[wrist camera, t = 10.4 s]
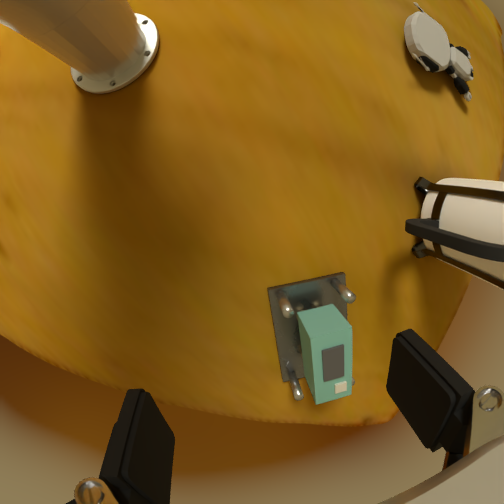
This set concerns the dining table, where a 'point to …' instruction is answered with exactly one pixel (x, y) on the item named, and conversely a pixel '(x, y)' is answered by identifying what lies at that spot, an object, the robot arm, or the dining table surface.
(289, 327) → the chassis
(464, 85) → the robot toy
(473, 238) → the coffee press
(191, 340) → the dining table surface
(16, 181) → the dining table surface
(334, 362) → the teal block
